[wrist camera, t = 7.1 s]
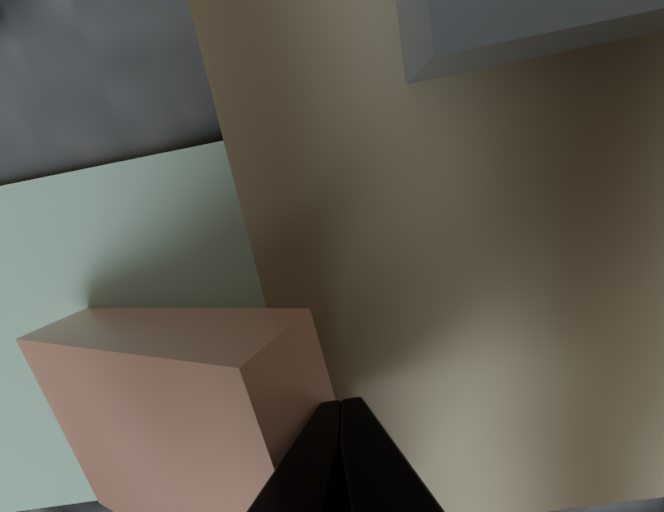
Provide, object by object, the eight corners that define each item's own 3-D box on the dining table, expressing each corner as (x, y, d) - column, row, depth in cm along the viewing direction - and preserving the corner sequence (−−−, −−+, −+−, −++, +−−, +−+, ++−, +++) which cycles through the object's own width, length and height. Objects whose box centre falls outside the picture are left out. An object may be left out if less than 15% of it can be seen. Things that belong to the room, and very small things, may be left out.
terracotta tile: (309, 308, 7) (238, 368, 5) (374, 539, 9) (333, 639, 7) (87, 307, 12) (15, 339, 10) (153, 454, 13) (99, 502, 12)
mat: (262, 133, 11) (259, 133, 10) (337, 460, 14) (337, 467, 14) (-165, 220, 12) (-178, 222, 11) (-3, 508, 15) (-10, 515, 14)
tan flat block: (819, -363, 8) (1299, -878, 4) (730, 370, 12) (904, 467, 9) (186, -194, 9) (65, -472, 5) (329, 428, 13) (326, 539, 10)
